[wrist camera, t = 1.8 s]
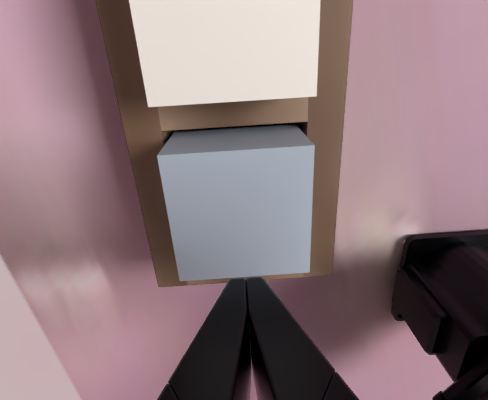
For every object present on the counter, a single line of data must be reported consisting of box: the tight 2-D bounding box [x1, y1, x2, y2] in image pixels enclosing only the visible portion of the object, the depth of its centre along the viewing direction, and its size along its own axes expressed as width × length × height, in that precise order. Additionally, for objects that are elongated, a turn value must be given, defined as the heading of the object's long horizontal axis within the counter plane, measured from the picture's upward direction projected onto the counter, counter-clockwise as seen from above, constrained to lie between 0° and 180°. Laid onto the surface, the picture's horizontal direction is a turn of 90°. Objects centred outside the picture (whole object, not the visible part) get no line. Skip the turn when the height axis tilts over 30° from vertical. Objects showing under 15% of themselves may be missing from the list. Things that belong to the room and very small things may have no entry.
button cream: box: [129, 0, 321, 107], centre depth 10 cm, size 5×5×4 cm
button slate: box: [157, 124, 315, 281], centre depth 13 cm, size 5×5×4 cm
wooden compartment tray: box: [96, 0, 353, 287], centre depth 12 cm, size 9×24×3 cm, turn 3°
